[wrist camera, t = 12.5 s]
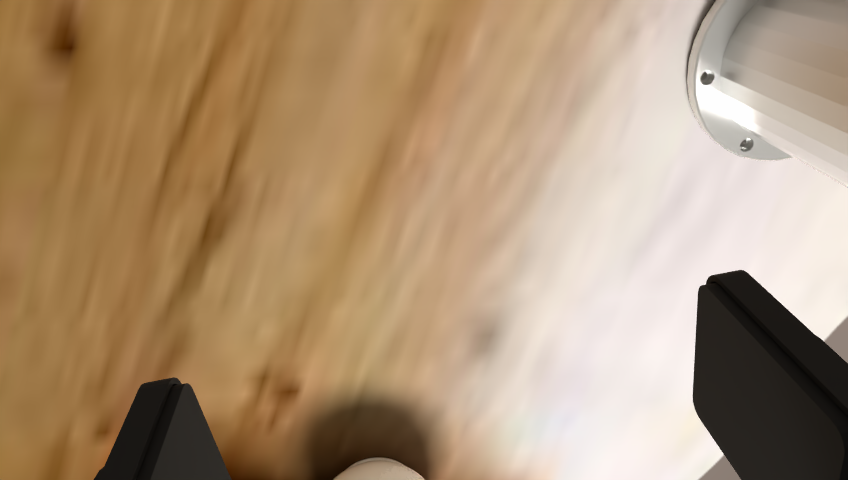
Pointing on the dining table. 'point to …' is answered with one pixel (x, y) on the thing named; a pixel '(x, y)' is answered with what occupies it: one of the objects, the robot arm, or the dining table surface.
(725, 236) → the dining table surface
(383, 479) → the lidded jar
